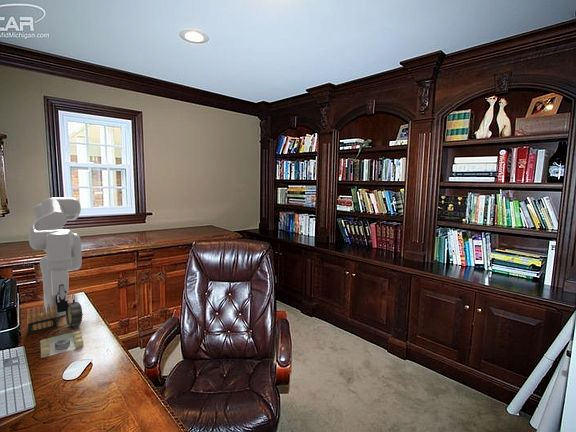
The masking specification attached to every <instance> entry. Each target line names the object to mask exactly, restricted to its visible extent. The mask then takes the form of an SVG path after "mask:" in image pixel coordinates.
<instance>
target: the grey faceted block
mask: <svg viewBox="0 0 576 432" xmlns="http://www.w3.org/2000/svg"><path fill="white" fill-rule="evenodd" d="M69 346H70V340H68V339H62V340H58V341H57V342H56V343H55V349H56V350H63V349H67V348H68V347H69Z"/></svg>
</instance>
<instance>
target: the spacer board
mask: <svg viewBox="0 0 576 432" xmlns="http://www.w3.org/2000/svg"><path fill="white" fill-rule="evenodd" d="M81 333H82V331H81V330H74V331H73V332H69V333H64V334H61V335H57V336H52V337H48V338H43V339H41V340H40V358H41V359H42V358H46V357H50V356H54V355H58V354H62V353H65V352H69V351H73V350H76V349H81V348H83V347H85V345H84V338H83V335H82V334H81ZM62 339H68V340H70V346H69V347H68V348H67V349H63V350H56V349H55V343H56V342H57V341H58V340H62Z"/></svg>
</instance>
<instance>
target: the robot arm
mask: <svg viewBox="0 0 576 432" xmlns="http://www.w3.org/2000/svg"><path fill="white" fill-rule="evenodd" d="M81 208H82V207H81V203H80V201H79V200H78V199H77V198H76V197H49V198H46V199H44V200H42V201H41V203H38V204H35V205H34V206H33V208H32V210H33V211H32V212H33V215H34V217H35V218H36V220H34V221H33V222H32V223H31V224H30V226H29V229H28V243H29V246H30V248H32V250H36V251H40V250H41V251H42V250H43V251H44V252H45V253H46V255H45V256H43V257H41V258H40V260H39V267H40V271H41V275H42V284H43V285H42V287H43V305H44V306H45V310H46V317H47V306H48V304H49V305H50V310H51V317H52V304H53V303H54V305H55V311H56V318H60V317H64V316H66V311H68V294H69V289H70V288H69V287H70V286H69V284H70V283H69V282H70V280H69V279H70V278H69V272H71V271H77V270H80V269H81V268H82V264H83V263H82V262H83V259H82V258H83V256H82V255H83V254H82V253H83V252H82V240H81V236H80V235H79V233H76V232H75V233H74V232H73V231H72V230H71V229H67V228H64V226H65V225H66V223H67V222H68V221H74V220H77V219H78V218H79V217H80V213H81V210H82V209H81ZM41 315H42V312H41Z"/></svg>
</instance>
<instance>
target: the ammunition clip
mask: <svg viewBox="0 0 576 432" xmlns="http://www.w3.org/2000/svg"><path fill="white" fill-rule="evenodd" d="M36 312H37V313H36ZM41 313H42V315H41ZM26 314H27V316H26V322H27V323H26V325H27V328H26V329H27V330H26V331H27V335H31V334H36V333H39V332H44V331H47V330H52V329H56V328H58V322H57V317H56V311H55V305H54V303H53V304H52V317H51V310H50V305H49V304H48V306H47V317H46V310H45V306H44V304H43V305H42V310H41V307H40V306H39V305H38V306H37V311H36V308H35V307H34V306H33V308H32V312H31V309H30V307H28V308H27V312H26Z"/></svg>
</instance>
